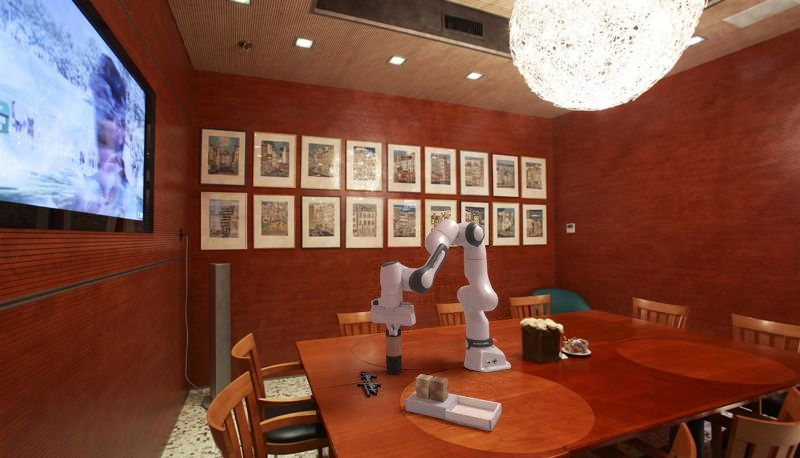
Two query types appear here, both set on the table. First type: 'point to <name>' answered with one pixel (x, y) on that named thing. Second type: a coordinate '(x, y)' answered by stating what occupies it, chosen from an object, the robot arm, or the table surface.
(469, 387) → the table surface
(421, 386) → the oak block
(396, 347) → the travel mug
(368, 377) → the nameplate
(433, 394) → the walnut block
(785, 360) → the table surface
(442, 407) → the white box cover
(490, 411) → the tray
